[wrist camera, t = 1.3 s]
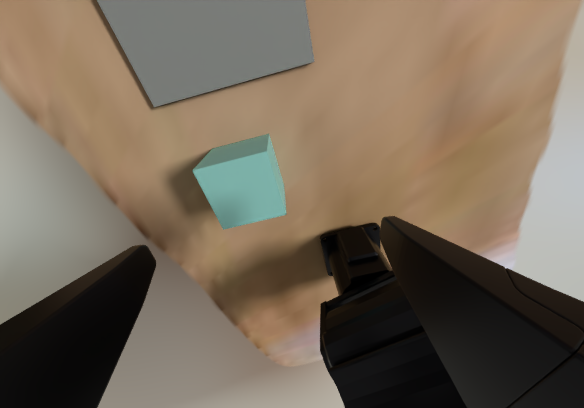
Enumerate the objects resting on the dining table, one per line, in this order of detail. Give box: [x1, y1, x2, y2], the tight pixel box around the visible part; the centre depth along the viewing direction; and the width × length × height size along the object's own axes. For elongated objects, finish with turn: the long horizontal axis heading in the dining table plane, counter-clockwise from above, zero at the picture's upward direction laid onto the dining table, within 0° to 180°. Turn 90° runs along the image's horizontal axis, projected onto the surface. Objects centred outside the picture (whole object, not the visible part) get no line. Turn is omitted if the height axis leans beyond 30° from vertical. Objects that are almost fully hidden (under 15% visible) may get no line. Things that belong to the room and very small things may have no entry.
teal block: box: [192, 134, 286, 230], centre depth 17 cm, size 5×5×5 cm
